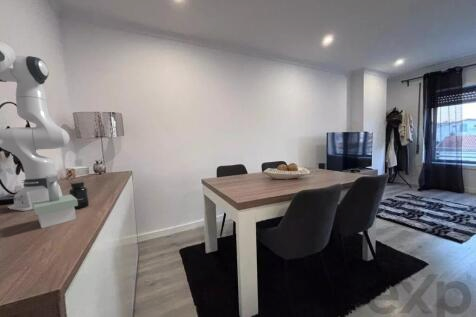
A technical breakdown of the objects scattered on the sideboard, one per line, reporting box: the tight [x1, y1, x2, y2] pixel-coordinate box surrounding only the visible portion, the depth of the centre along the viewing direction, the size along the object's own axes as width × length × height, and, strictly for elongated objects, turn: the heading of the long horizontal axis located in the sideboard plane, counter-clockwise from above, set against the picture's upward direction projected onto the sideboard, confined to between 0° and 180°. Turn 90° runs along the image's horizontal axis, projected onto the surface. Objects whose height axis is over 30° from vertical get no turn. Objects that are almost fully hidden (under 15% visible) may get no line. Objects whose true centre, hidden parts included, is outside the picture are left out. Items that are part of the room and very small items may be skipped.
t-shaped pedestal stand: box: [32, 174, 78, 216], centre depth 80 cm, size 12×12×13 cm
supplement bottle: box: [68, 181, 90, 210], centre depth 96 cm, size 7×7×12 cm
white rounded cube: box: [37, 207, 77, 229], centre depth 80 cm, size 10×10×7 cm
